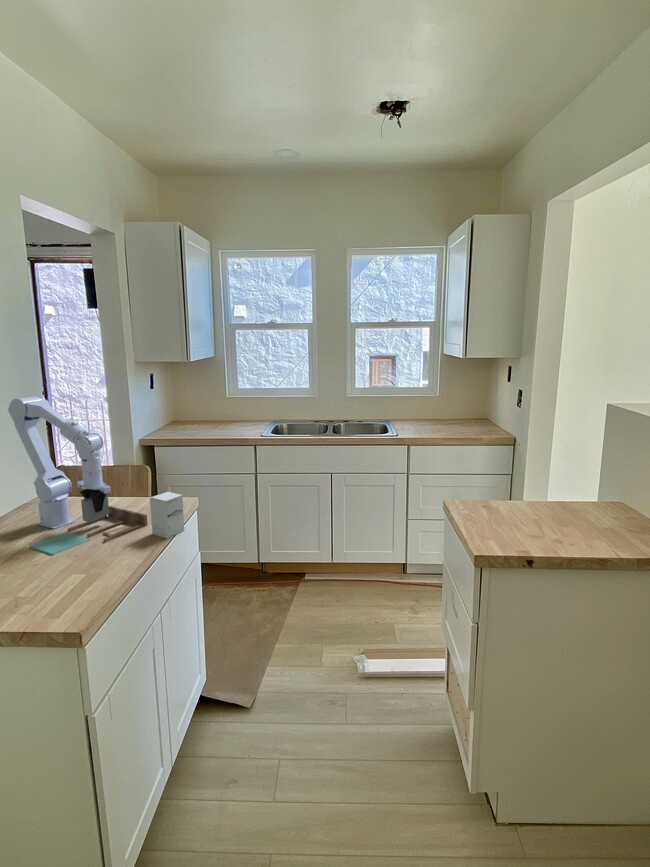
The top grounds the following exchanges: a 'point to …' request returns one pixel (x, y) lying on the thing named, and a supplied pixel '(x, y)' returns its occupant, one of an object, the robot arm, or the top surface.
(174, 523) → the supplement box
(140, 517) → the rack
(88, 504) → the block
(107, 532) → the offcut top
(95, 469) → the robot arm
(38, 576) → the top surface
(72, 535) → the mat
